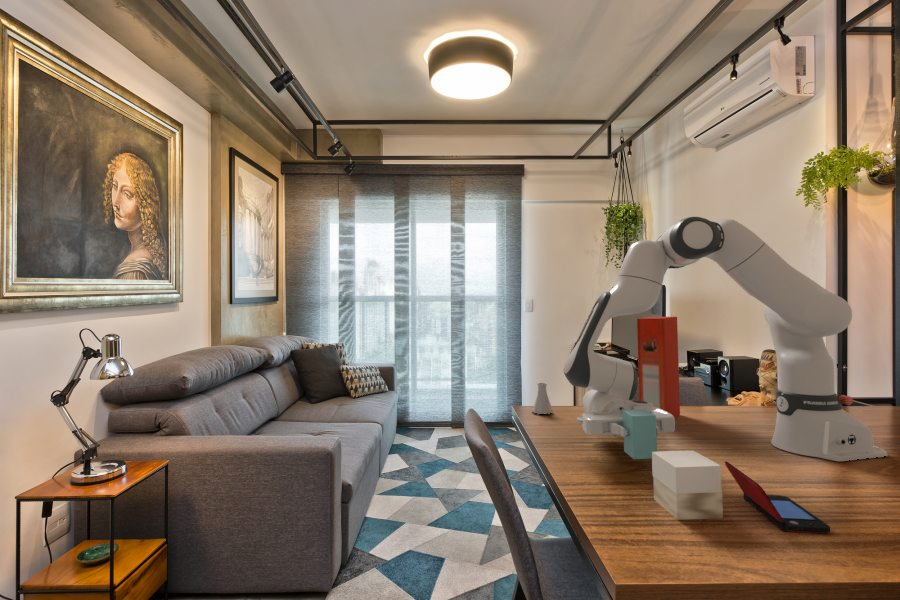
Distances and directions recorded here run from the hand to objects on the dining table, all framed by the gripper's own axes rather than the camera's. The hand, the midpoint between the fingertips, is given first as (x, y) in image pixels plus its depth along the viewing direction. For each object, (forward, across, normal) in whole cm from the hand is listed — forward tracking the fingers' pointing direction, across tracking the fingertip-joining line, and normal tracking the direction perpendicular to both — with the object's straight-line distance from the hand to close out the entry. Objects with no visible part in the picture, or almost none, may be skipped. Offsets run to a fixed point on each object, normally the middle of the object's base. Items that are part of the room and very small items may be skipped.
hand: (641, 432), depth 95 cm
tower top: (+15, +1, +5) cm, 16 cm away
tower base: (+15, +1, +10) cm, 18 cm away
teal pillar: (-1, 0, +5) cm, 5 cm away
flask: (-55, -10, +9) cm, 57 cm away
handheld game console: (+18, +15, +10) cm, 25 cm away
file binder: (-45, +25, +10) cm, 53 cm away
